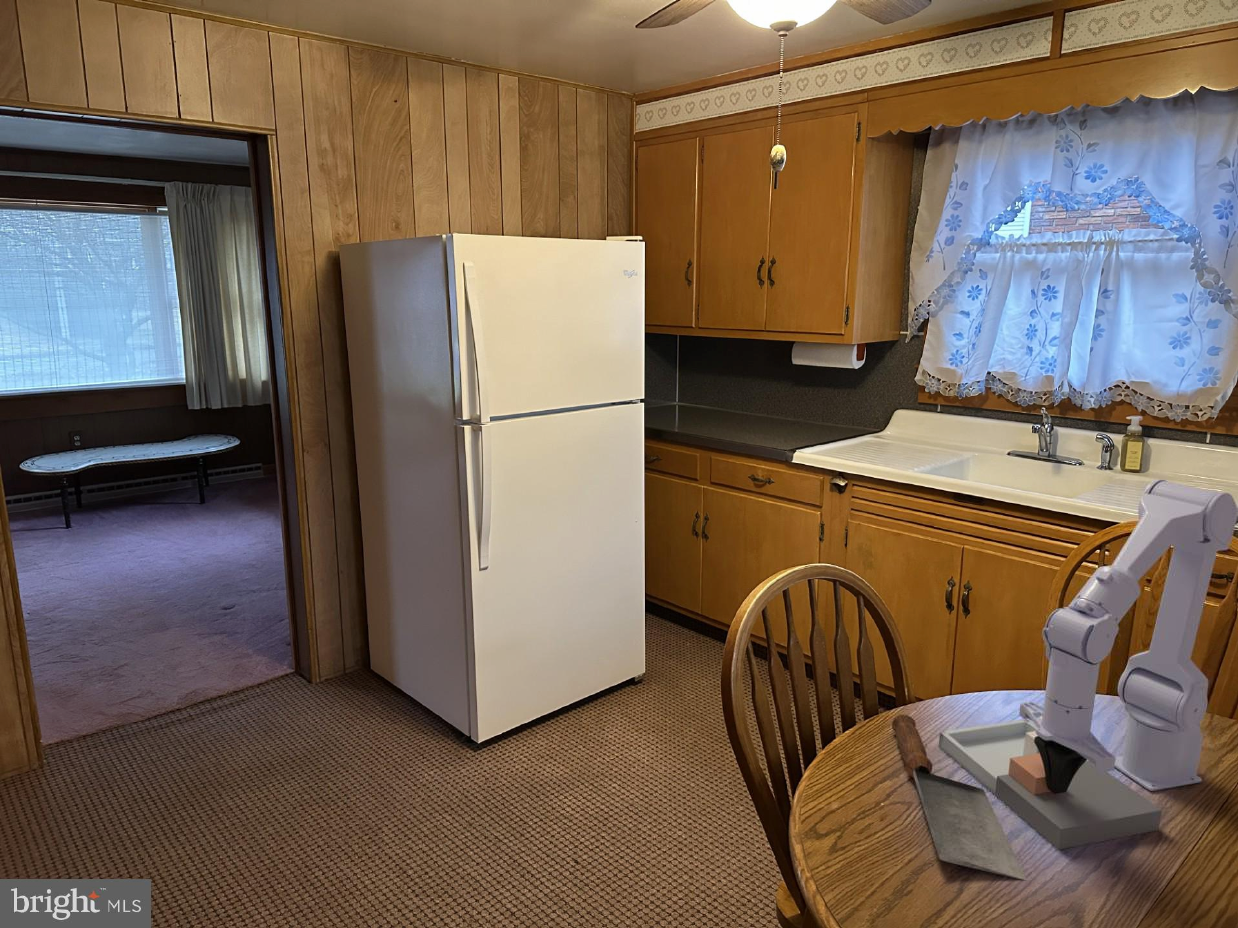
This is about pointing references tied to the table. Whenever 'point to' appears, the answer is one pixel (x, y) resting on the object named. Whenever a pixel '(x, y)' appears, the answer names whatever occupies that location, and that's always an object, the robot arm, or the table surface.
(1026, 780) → the tile terracotta
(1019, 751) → the tray
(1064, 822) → the board
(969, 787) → the meat cleaver
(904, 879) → the table surface
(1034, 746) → the tile white
